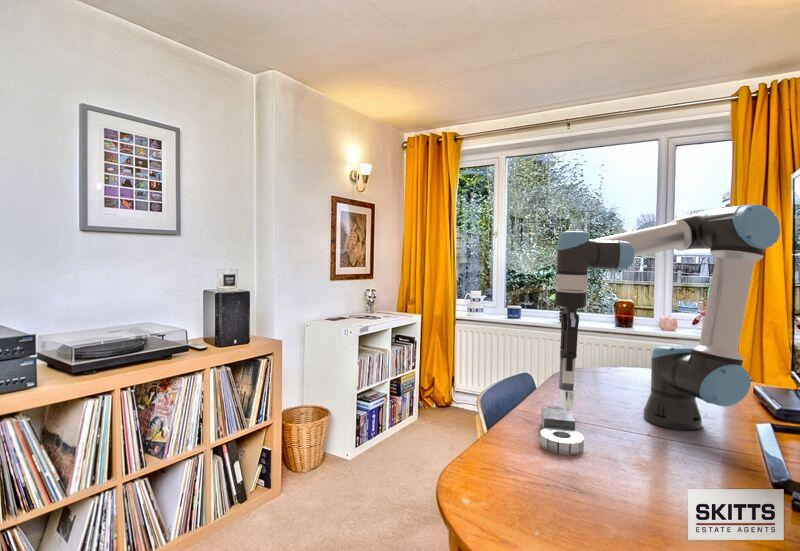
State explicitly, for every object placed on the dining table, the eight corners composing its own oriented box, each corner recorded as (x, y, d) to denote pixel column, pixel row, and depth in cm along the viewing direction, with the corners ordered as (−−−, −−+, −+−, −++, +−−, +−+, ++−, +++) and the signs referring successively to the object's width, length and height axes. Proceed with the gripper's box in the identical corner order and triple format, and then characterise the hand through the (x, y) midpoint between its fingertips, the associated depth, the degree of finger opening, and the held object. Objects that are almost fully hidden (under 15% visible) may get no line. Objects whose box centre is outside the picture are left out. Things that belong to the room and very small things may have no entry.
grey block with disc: (573, 424, 131) (573, 408, 131) (586, 457, 109) (586, 437, 109) (536, 421, 133) (536, 405, 133) (542, 452, 112) (542, 432, 112)
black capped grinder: (572, 387, 117) (574, 349, 116) (575, 391, 113) (576, 352, 112) (557, 385, 117) (559, 348, 117) (559, 389, 114) (561, 351, 113)
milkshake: (578, 417, 137) (579, 385, 137) (560, 415, 138) (561, 384, 138) (575, 412, 142) (576, 381, 141) (558, 411, 143) (559, 380, 142)
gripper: (552, 288, 123) (548, 371, 124) (559, 292, 107) (555, 388, 108) (580, 289, 121) (576, 374, 122) (592, 294, 105) (587, 391, 106)
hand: (566, 380), depth 115 cm, fingers closed on black capped grinder, 4 cm apart
